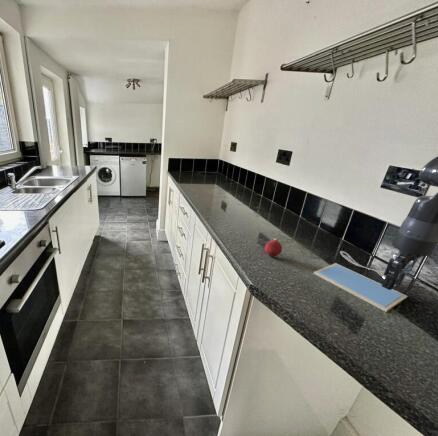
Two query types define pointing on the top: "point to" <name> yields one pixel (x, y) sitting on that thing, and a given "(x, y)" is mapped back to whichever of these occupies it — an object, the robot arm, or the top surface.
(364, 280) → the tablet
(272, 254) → the onion
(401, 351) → the top surface
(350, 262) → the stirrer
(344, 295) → the top surface
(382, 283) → the robot arm
